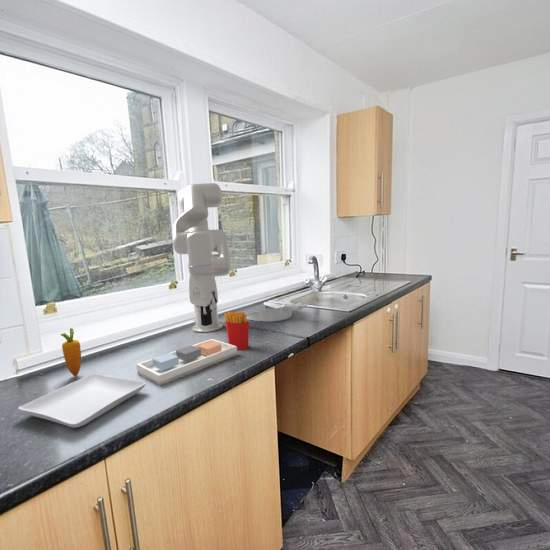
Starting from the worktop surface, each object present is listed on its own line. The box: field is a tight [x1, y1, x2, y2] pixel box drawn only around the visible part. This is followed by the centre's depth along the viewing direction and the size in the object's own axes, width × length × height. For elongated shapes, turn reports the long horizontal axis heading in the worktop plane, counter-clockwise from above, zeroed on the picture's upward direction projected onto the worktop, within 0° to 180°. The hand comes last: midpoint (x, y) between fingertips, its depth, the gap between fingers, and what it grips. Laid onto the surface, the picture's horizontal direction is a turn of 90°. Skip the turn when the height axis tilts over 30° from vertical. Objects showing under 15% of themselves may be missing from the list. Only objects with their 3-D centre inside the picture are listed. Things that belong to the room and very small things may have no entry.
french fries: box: [223, 311, 250, 351], centre depth 123 cm, size 9×4×13 cm, turn 61°
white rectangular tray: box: [136, 338, 238, 387], centre depth 111 cm, size 14×28×3 cm, turn 136°
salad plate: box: [17, 373, 147, 429], centre depth 88 cm, size 21×21×3 cm
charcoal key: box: [175, 345, 201, 362], centre depth 111 cm, size 6×6×2 cm
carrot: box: [60, 328, 82, 377], centre depth 106 cm, size 5×5×15 cm
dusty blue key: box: [151, 352, 179, 370], centre depth 105 cm, size 6×6×2 cm
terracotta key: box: [198, 341, 222, 356], centre depth 116 cm, size 6×6×2 cm
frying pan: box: [245, 301, 308, 323], centre depth 157 cm, size 23×33×10 cm
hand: (207, 324), depth 115 cm, fingers closed
